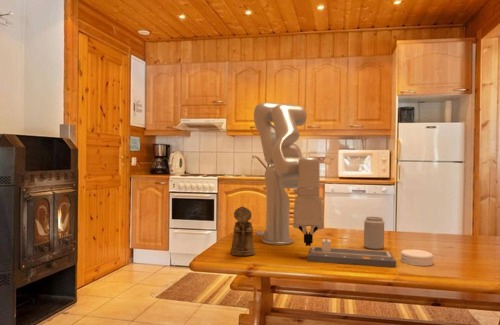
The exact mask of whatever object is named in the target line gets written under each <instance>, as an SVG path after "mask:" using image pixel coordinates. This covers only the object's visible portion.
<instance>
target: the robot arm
mask: <svg viewBox="0 0 500 325" xmlns="http://www.w3.org/2000/svg"><path fill="white" fill-rule="evenodd" d="M253 121H254V126H255V128H256V130H257V133H258V136H259V138H260V142H261V147H262V152H263V157H264V160H265V162H266V164H268V165H271V166H268V167H267V168H266V169H265V171H264V181H265V188H266V191H265V192H266V212H265V214H266V216H265V217H266V222H265V224H266V225H265V230H263V231H262V230H256V231H255V236H258V237H262V238H261V241H262V242H263V243H264V244H268V245H275V246H281V245H282V246H283V245H290V244H293V242H294V239H293V238H291V237H290V208H291V207H290V204H291V203H290V196H289V195H288V192H286V189H293V194H297V196H295V197H294V203H293V219H292V220H293V224H292V227H293V229H298V230H300V232H301V233H302V234H303V243H304V244H305V246H306V247H311V245H312V244H313V241H314V239H313V235H314V233H315V232H316V231H319V230H323V229H324V228H325V226H324V205H323V204H324V203H323V199H322V196H320V170H321V169H320V167H321V166H320V165H321V164H320V160H319V158H317V157H303V155H302V151H301V149H300V147H299V146H298V144H296V143H295V142H297V141H298V140H299V139H300V138H299V137H300V132H299V129H298V127H301V126H303V125H305V123H306V122H307V112H306V109H305V107H303V106H302V105H300V104H299V105H298V104H292V103H285V102H284V103H282V102H271V101H270V102H268V101H266V102H260V103H258V104H256V105H255V107H254V110H253ZM307 227H310V229H309V230H310V231H309V232H308V229H307Z"/></svg>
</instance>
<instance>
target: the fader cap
mask: <svg viewBox="0 0 500 325" xmlns="http://www.w3.org/2000/svg"><path fill="white" fill-rule="evenodd" d="M331 245H332V240H331V239H328V238H327V237H326V238H322V239H321V247H322V252H331V248H332V246H331Z"/></svg>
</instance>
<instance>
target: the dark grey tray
mask: <svg viewBox="0 0 500 325" xmlns="http://www.w3.org/2000/svg"><path fill="white" fill-rule="evenodd" d="M392 254H393V253H391V252H390V251H388V250H386V251H385V250H374V249H358V248H357V249H356V248H341V247H340V248H339V247H331V252H322V246H309V249H308V252H307V262H315V263H324V264H325V263H328V264H339V265H340V264H342V265H354V266H369V267H382V268H395V267H396V268H397V260H396V259H395V257H394V256H393V255H392Z"/></svg>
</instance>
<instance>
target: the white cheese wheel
mask: <svg viewBox="0 0 500 325" xmlns="http://www.w3.org/2000/svg"><path fill="white" fill-rule="evenodd" d="M433 260H434V254H433V253H431V252H429V251H426V250H422V249H413V248H411V249H403V250H401V252H400V261H401V262H402V263H403V262H404V264H406V263H407V264H406V265H409V264H411V265H410V266H415V265H416V266H415V267H430V266H432V265H433V264H434V262H433Z"/></svg>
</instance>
